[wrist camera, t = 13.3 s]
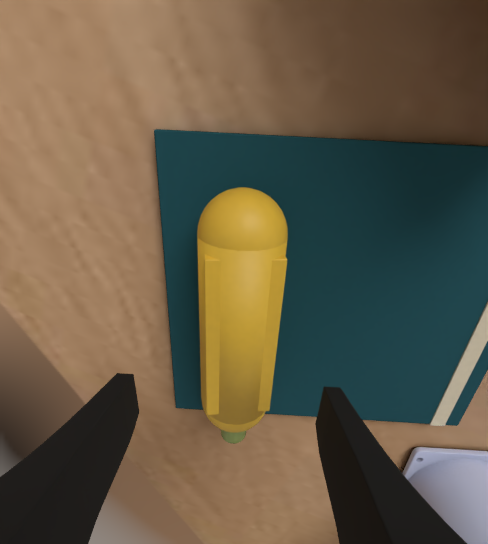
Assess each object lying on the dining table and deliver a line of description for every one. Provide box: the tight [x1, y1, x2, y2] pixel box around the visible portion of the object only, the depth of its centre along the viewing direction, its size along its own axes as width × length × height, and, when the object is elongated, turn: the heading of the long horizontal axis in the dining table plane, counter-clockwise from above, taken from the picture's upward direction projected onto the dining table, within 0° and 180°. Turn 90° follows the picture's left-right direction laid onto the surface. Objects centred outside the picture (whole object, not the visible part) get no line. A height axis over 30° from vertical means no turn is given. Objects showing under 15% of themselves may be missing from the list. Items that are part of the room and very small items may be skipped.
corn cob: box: [197, 187, 288, 444], centre depth 16 cm, size 4×15×4 cm, turn 178°
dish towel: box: [154, 129, 488, 426], centre depth 18 cm, size 18×20×1 cm
